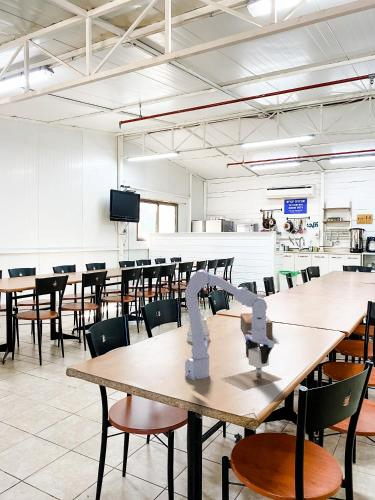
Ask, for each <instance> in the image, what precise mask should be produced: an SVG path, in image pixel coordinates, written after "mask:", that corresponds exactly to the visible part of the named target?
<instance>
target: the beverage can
mask: <svg viewBox="0 0 375 500" xmlns="http://www.w3.org/2000/svg"><path fill="white" fill-rule="evenodd" d="M248 334H249V335H252V330H248V331H247V333H246V335H248ZM245 342H248V340H245ZM259 346H261V344H259V343H258V346H257V347H259ZM245 355H246V356H247V357H249V350H248V347H247V346H246V345H245Z"/></svg>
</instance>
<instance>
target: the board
mask: <svg viewBox="0 0 375 500" xmlns="http://www.w3.org/2000/svg"><path fill="white" fill-rule="evenodd" d="M220 380H222V381H224V382H225V383H228V384H230V385H232V386H234V387H236V388H237V389H241V390H242V391H247V390H251V389H253V388H258V387H261V386H264V385H267V384H271V383H274V382H278V381H282V378H281V377H279V376H276V375H274V374H271V373H270V372H269V373H268V372H266V371H263V370H262V377H261V378H257V377H256V369H252V370H248V371H244V372H241V373H238V374H234V375H230V376H226V377H223V378H220Z"/></svg>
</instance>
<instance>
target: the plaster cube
mask: <svg viewBox="0 0 375 500" xmlns="http://www.w3.org/2000/svg"><path fill="white" fill-rule="evenodd" d="M269 359H270V355H269V356H268V360H267V363H265V364H262V361H261V352H260V349H259V347H257V348H253V349H249V356H248V365H250V366H252V367H255V368H256V367H257V368H261V367H262V368H265V367H268V366H269V365H270V361H269Z"/></svg>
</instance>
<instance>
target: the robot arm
mask: <svg viewBox="0 0 375 500" xmlns="http://www.w3.org/2000/svg"><path fill="white" fill-rule="evenodd" d="M207 285H208V287H215V286H216V287H218V288H220V289H222V290H224V291H226V292H227V293H229V294H231V295H233V298H234V300H236V301H237V302H239V303H241V304H243V305H244V306H245V307H248V308H251V309H252V310H251V311H252V312H251V313H252V335H249V334H248V335H245V336H244V340H245V343H244V344H245V347H246V346H247V347H248V350H249V349H253V348H257V346H258V343H259V344H260V346H259V349H260V352H261V361H262V364H265V363H267V360H268V356H269V357H270V354H271V352H272V350H273V348H274V347H275V342H274V341H273V340H268V339H267V337H266V316H267V310H268V304H267V302H266V300H265V299H264V298H263V297H262V296H261V295H260V296H259V294H257V293H254V292H252V291H250V290H249V288H248V287H246V286H245V287H243V286H240V287H239V286H238V287H236V286H235V285H233V284H232V283H230V282H228V281H227V280H225V279H223V278H222V277H220V276H219V275H216V274H214V273H212V272H211V271H209V272H208V271H207V270H206V269H204V268H203V269H199V270H197V271H196V272H195V273H194V274H193V275H192V276H191V277H190V279H189V280H188V283H187V286H186V288H185V291H184V296H185V301H186V307H187V312H188V321H189V320H190V321H189V323H190V325H191V331H192V342H191V343H192V347H191V357H190V358H188V359H186V360H185V362H184V363H185V364H184V368H185V369H184V371H185V372H184V373H185V374H184V376H185V377H187V378H188V379H191V380H193V381H194V380H199V379H206V378H208V377H209V376H210V355H209V353H208V349H209V346H210V344H209V341H207V340H206V338H205V334H204V332H203V326H202V321H201V315H200V311H201V309H199V307H200V305H199V299H198V293H199V292H200V291H201V290H202V289H203V288H204V287H206V286H207ZM246 340H248V342H246Z"/></svg>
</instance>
